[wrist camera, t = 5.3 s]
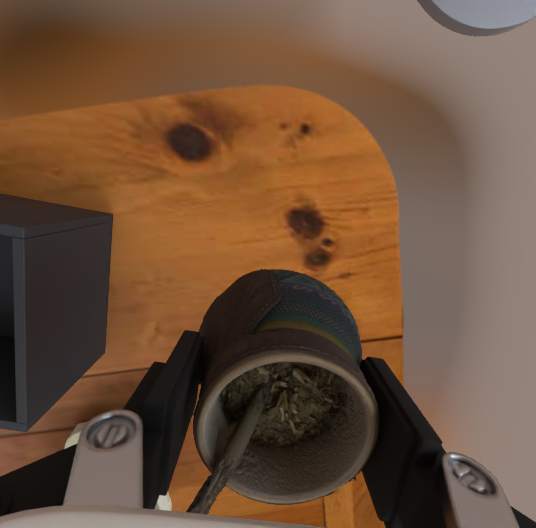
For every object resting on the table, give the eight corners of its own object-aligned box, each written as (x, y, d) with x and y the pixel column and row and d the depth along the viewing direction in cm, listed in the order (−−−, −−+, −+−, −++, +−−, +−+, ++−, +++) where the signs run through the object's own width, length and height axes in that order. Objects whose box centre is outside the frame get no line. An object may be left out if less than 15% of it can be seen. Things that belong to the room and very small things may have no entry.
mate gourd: (368, 319, 16) (524, 508, 7) (271, 402, 17) (281, 666, 8) (278, 227, 15) (308, 293, 5) (180, 323, 16) (55, 523, 6)
